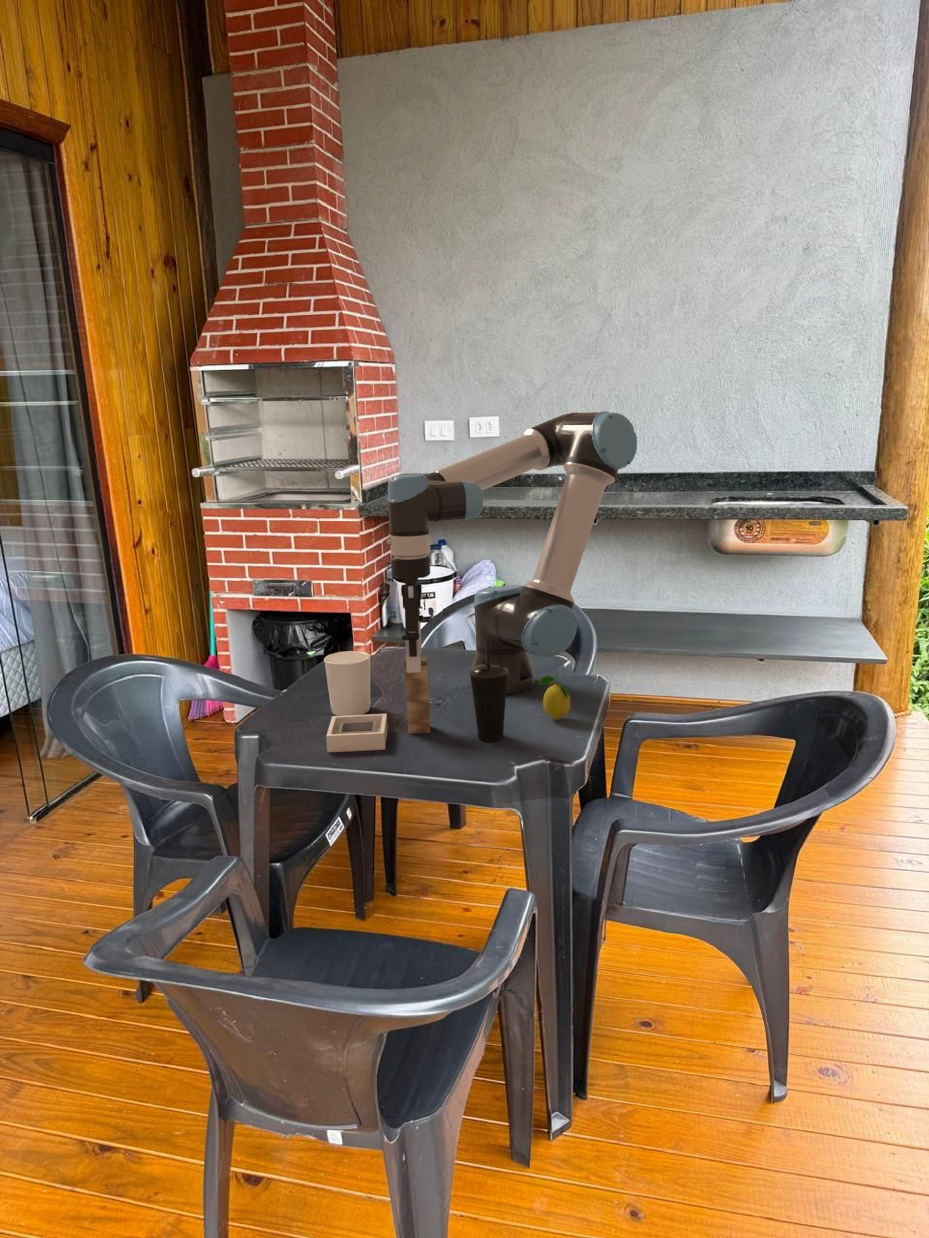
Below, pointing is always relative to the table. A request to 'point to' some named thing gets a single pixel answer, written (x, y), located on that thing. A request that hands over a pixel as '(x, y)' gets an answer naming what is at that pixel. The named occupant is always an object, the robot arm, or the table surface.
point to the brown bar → (418, 699)
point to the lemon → (555, 698)
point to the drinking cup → (489, 698)
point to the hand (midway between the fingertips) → (414, 662)
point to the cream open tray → (357, 733)
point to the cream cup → (348, 682)
